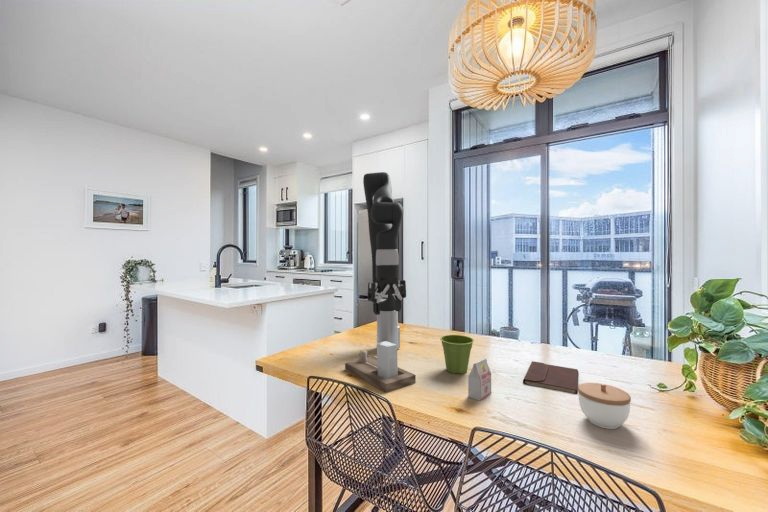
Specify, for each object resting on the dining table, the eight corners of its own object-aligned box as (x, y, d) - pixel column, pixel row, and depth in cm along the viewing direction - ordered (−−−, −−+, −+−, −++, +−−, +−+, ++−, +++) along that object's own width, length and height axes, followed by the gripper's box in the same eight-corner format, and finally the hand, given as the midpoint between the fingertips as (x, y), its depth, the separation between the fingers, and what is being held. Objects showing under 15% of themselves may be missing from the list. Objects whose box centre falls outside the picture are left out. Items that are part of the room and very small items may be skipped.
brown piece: (372, 362, 123) (372, 346, 123) (415, 382, 104) (415, 364, 104) (345, 369, 116) (345, 352, 116) (386, 392, 97) (385, 372, 97)
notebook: (578, 373, 112) (578, 368, 112) (577, 395, 95) (577, 388, 95) (531, 366, 120) (531, 360, 120) (522, 384, 103) (522, 378, 103)
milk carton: (468, 396, 94) (468, 362, 94) (479, 389, 99) (479, 357, 99) (479, 400, 91) (479, 365, 91) (491, 393, 96) (491, 359, 96)
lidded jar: (608, 411, 85) (608, 375, 85) (642, 434, 74) (642, 393, 74) (568, 412, 85) (568, 376, 84) (597, 435, 74) (597, 394, 74)
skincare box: (398, 381, 105) (398, 344, 105) (387, 385, 102) (387, 346, 102) (386, 375, 110) (386, 340, 110) (376, 379, 107) (376, 342, 107)
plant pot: (435, 373, 112) (435, 340, 112) (445, 362, 123) (445, 333, 122) (469, 379, 107) (469, 345, 106) (477, 367, 117) (477, 336, 117)
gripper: (396, 262, 113) (396, 308, 113) (362, 263, 104) (363, 313, 105) (411, 263, 107) (411, 311, 107) (376, 264, 98) (376, 317, 99)
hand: (387, 312), depth 106 cm, fingers open, 8 cm apart
